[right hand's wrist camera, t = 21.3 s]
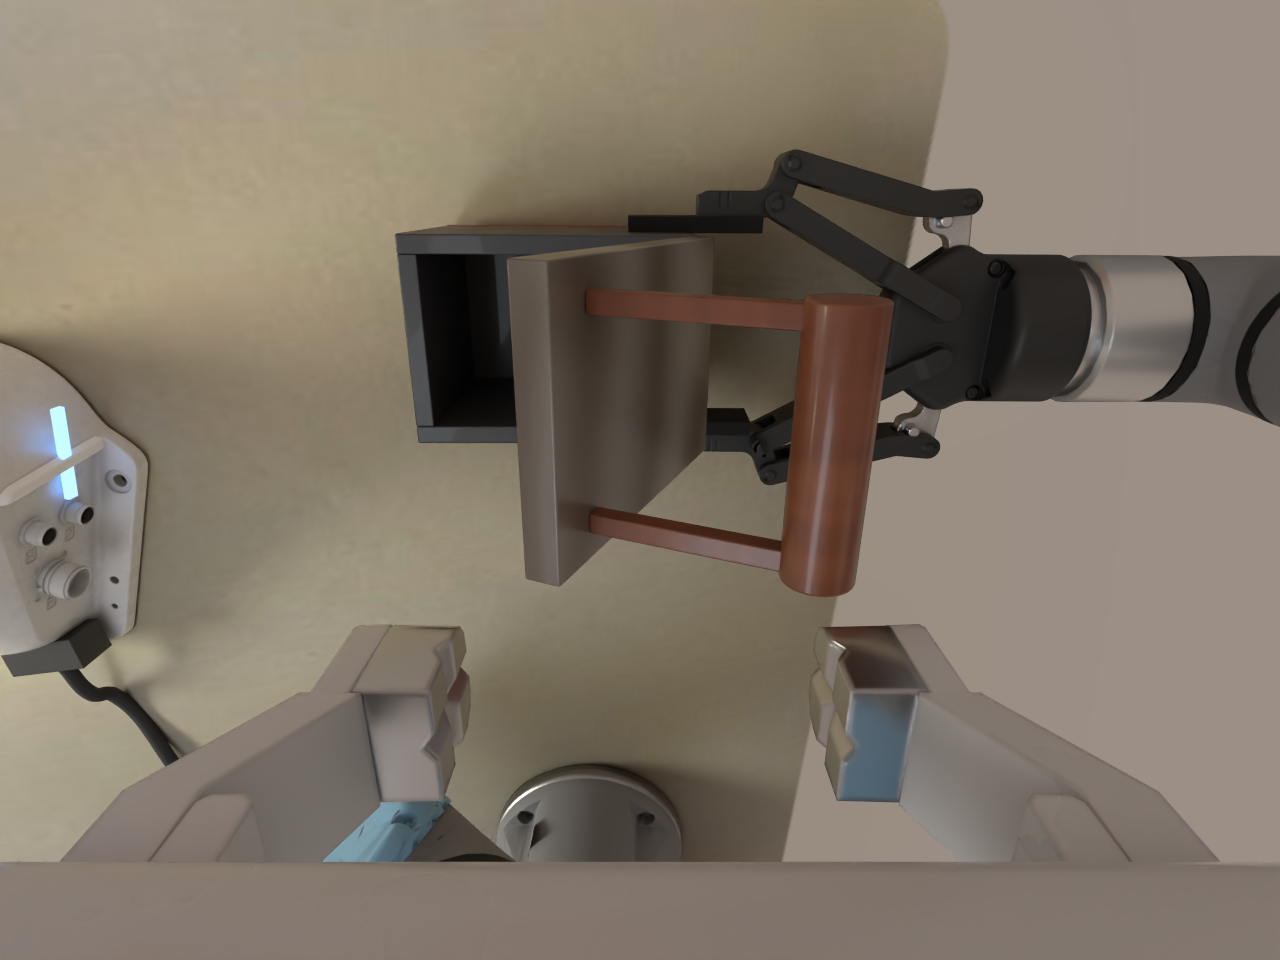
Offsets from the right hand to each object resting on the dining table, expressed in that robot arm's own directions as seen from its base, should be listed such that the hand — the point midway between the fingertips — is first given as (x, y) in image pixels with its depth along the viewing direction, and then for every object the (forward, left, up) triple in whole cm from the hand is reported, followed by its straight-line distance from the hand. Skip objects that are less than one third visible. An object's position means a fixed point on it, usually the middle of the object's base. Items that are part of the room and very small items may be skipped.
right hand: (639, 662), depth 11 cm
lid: (0, +1, -17) cm, 17 cm away
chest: (0, +5, -35) cm, 35 cm away
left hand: (0, +1, -29) cm, 29 cm away
